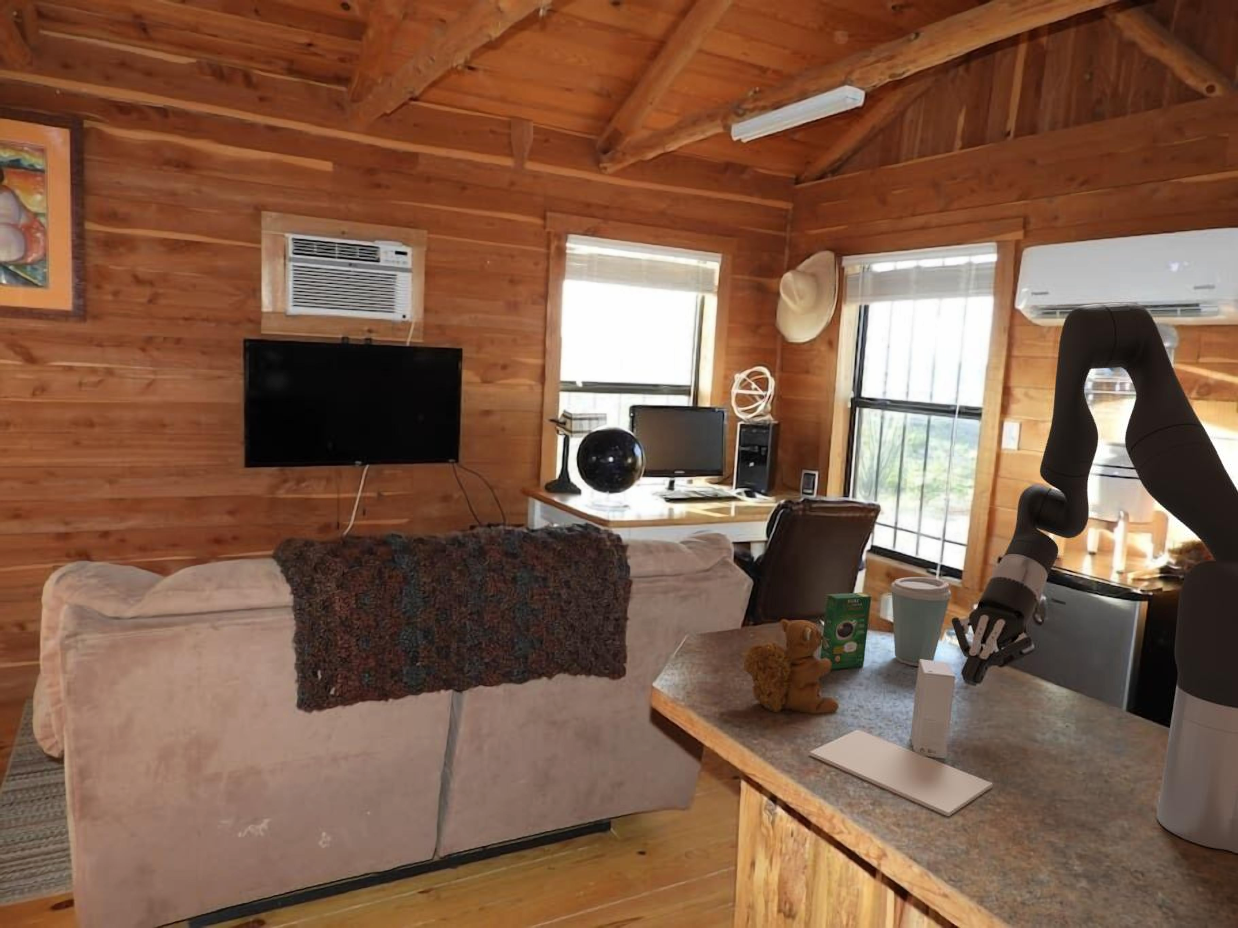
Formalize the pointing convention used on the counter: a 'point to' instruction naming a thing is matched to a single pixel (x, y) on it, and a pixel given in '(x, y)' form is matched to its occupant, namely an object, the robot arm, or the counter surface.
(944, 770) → the flat beige rectangular board
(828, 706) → the stuffed squirrel
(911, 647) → the disposable coffee cup
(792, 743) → the counter surface
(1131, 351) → the robot arm
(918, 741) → the skincare box
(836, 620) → the coffee box
